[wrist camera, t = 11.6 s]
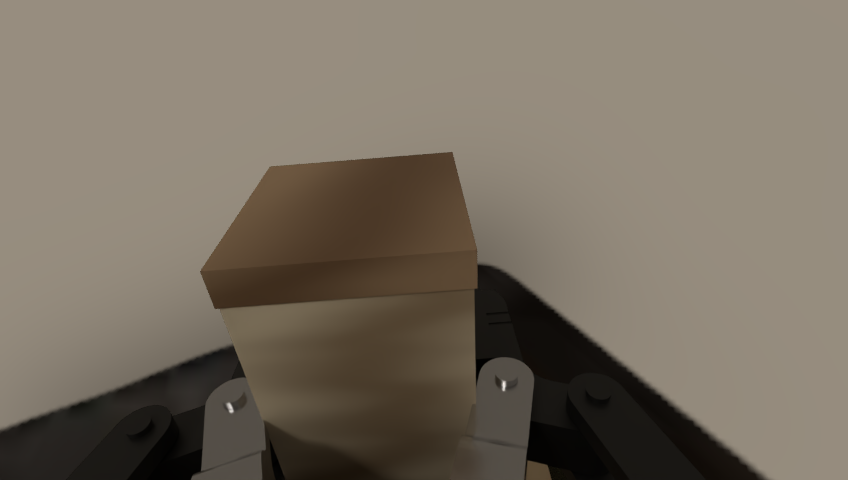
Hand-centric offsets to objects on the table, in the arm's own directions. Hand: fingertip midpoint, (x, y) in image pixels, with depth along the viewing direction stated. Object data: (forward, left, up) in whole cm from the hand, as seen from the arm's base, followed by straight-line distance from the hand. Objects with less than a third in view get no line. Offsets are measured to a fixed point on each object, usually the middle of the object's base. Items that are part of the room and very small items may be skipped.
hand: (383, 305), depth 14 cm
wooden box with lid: (0, -3, -7) cm, 7 cm away
